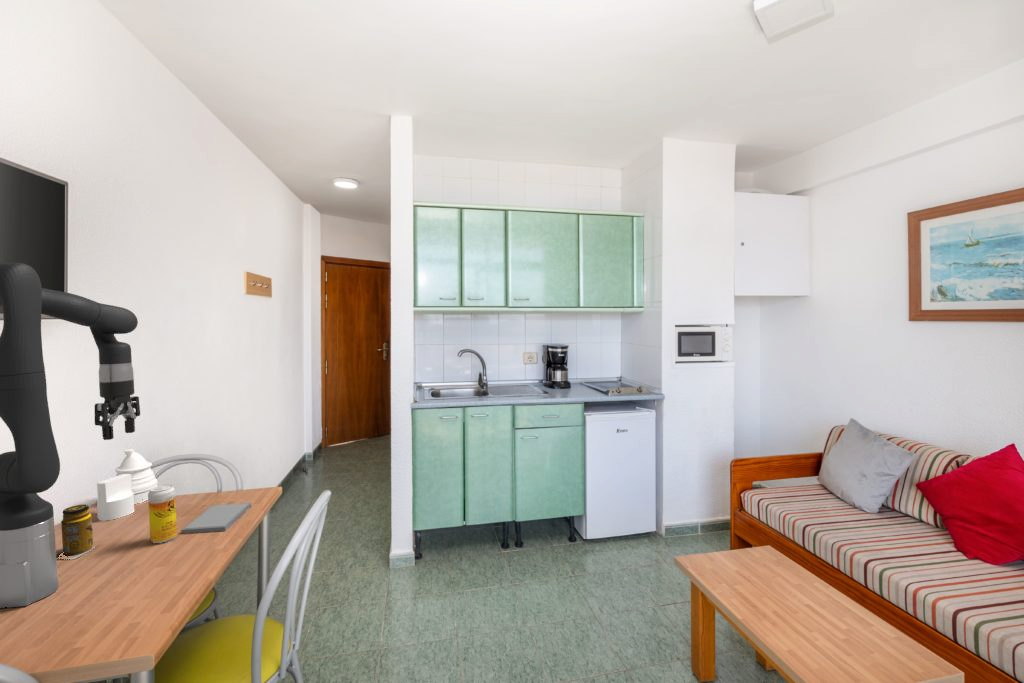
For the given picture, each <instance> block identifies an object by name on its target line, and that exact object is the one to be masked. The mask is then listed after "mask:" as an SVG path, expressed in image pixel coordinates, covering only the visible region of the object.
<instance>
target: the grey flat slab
mask: <svg viewBox="0 0 1024 683" xmlns="http://www.w3.org/2000/svg"><path fill="white" fill-rule="evenodd" d="M251 507H252V502H248V503H247V502H244V503H232V504H230V503H228V504H217V505H216V504H214V505H211V506H210V507H209V508H207V509H206V510H204V512H202V513H201V514H200V515H199V516H197V517H196V518H195V519H193V520H192V521H191V522H189V523H188V524H187V525H186V526H184V527H183V528H182V529H181V530H180V531H181V533H180V534H181V535H183V534H185V533H187V534H199V533H201V534H202V533H212V532H213V533H215V532H214V531H216V532H225V531H226V532H227V530H229V528H230V527H231V526H232V525H234V524H235V523H236V522H237V520H238V518H239V517H240V516H241V515H242V514H243V513H244V512H245V511H246V510H247V509H248V510H249V509H251ZM248 510H247V511H248ZM247 511H246V512H247ZM246 512H245V513H246ZM245 513H244V514H245ZM244 514H243V515H244ZM243 515H242V516H243ZM242 516H241V517H242ZM241 517H240V518H241ZM240 518H239V519H240ZM185 535H186V534H185Z"/></svg>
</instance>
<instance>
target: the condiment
mask: <svg viewBox="0 0 1024 683" xmlns="http://www.w3.org/2000/svg"><path fill="white" fill-rule="evenodd" d="M90 512H91V511H90V506H89V504H76V505H72V506H68V507H67V508H64V509H63V510H62V520H61V521H60V522H61V540H62V551H60V552H58V553H56V559H57V558H58V557H59V555H60V554H61V553H63V552H64V553H63V555H65V556H67V559H68V560H69V559H70V560H76V559H77V558H80V557H81V556H83V555H85V554H87V553H88V552H91V551H92V550H94V549H96V548H95V547H93V544H94V541H93V540H94V538H93V535H94V534H93V524H92V521H93V520H92V519H93V518H92V514H91V513H90ZM93 548H94V549H93ZM90 549H91V550H90ZM68 556H73V557H69V558H68ZM60 557H62V556H60ZM58 559H59V558H58ZM60 559H61V558H60ZM67 559H66V561H68V560H67ZM70 560H69V561H70ZM63 561H65V559H64V560H63Z"/></svg>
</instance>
